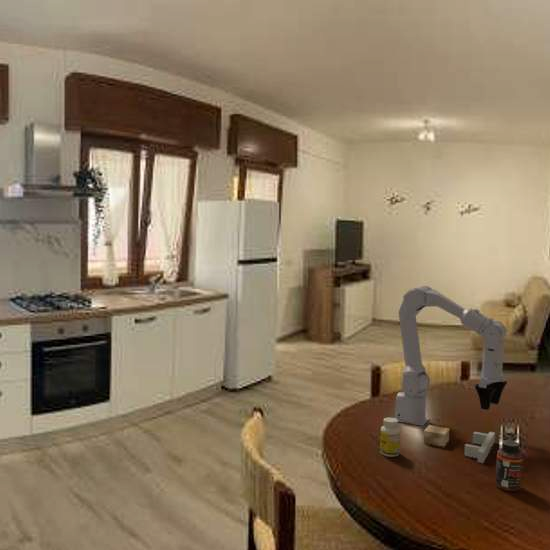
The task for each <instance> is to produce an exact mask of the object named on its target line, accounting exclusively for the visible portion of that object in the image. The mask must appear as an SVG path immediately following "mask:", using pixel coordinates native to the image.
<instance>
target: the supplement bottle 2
mask: <svg viewBox="0 0 550 550" xmlns="http://www.w3.org/2000/svg"><path fill="white" fill-rule="evenodd" d="M523 458H524V456H523V453H522V452H521V451H520V443H519V442H518V441H514V440H511V439H510V440H509V439H506V440H505V439H504V440H502V442H501V448H499V449H497V454H496V467H495V481H494V483H495V486H496V487H497V488H499V489H500V490H502V491H506V492H518V491H520V490H521V488H522V474H523V462H524V461H523V460H524V459H523Z"/></svg>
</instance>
